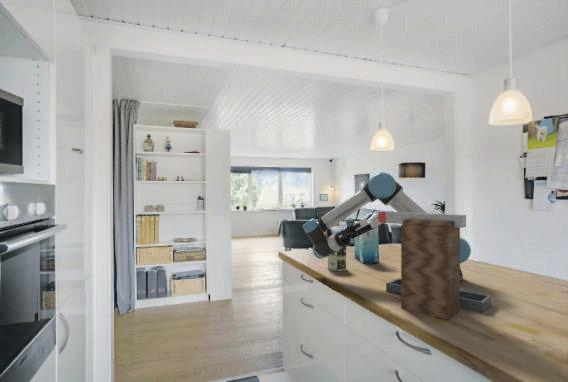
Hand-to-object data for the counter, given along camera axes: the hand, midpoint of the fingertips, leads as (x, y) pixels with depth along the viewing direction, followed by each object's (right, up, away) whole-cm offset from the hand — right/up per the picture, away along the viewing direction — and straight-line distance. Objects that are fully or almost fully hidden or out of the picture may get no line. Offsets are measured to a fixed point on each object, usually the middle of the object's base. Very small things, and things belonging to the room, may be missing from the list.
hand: (375, 220), depth 142 cm
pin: (+10, 0, -23) cm, 25 cm away
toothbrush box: (+11, -31, +60) cm, 69 cm away
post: (+13, -29, -26) cm, 41 cm away
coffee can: (-10, -30, +38) cm, 50 cm away
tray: (+20, -30, -13) cm, 38 cm away
